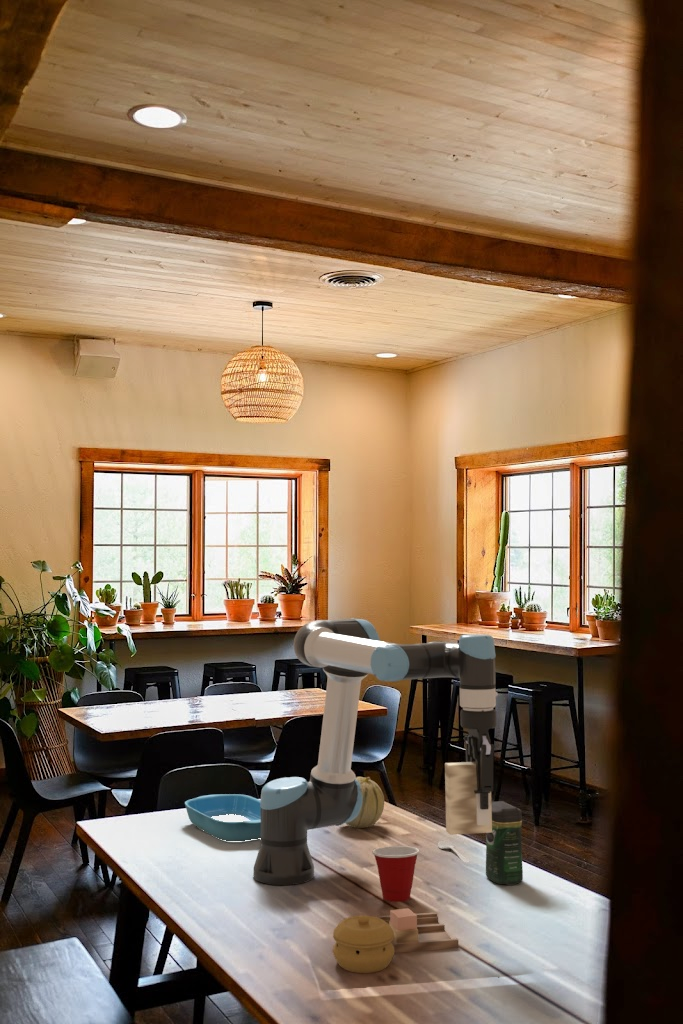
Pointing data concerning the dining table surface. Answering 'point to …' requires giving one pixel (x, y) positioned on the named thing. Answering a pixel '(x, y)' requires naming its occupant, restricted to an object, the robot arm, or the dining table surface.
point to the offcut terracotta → (403, 919)
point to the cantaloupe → (368, 804)
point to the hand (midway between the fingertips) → (480, 822)
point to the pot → (363, 944)
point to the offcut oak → (404, 935)
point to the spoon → (448, 846)
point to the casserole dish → (222, 805)
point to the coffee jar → (504, 845)
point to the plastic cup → (396, 871)
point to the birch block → (462, 799)
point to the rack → (426, 935)
